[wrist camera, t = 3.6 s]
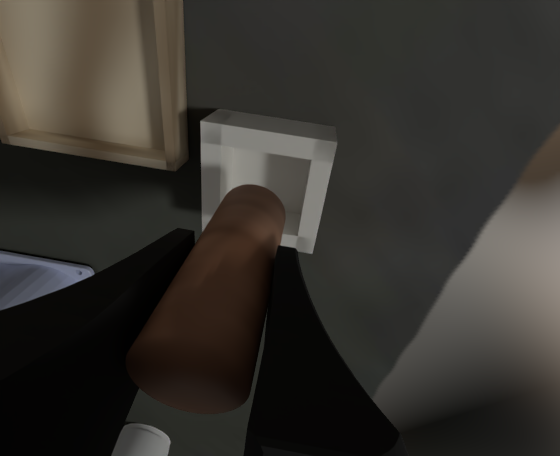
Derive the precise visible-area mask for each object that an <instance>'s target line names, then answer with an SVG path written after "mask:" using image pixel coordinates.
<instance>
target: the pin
mask: <svg viewBox="0 0 560 456" xmlns="http://www.w3.org/2000/svg"><path fill="white" fill-rule="evenodd" d="M285 219H286V214H285V209H284V206H283V204H282V202H281V200H280V199H279V198H278V197H277V195H276V194H274V193H273V192H272V191H270V190H269V189H267V188H265V187H262V186H259V185H254V184H245V185H240V186H237V187H235V188H233V189H232V190H230V191H229V192H228V193H227V194H226V195H225V197H224V199H223V200H222V202H221V203H220V205H219V207H218V208H217V210H216V211H215V213H214V215H213V216H212V218H211V219H210V221H209V223H208V224H207V226H206V228H205V229H204V231H203V232H202V234H201V236H200V237H199V239H198V240H197V242H196V244H195V245H194V247H193V248H192V250H191V252H190V253H189V255H188V256H187V258H186V260H185V261H184V263H183V264H182V266H181V268H180V269H179V271H178V272H177V274H176V276H175V277H174V279H173V281H172V282H171V284H170V285H169V287H168V289H167V290H166V292H165V293H164V295H163V297H162V298H161V300H160V301H159V303H158V305H157V306H156V308H155V309H154V311H153V313H152V314H151V316H150V317H149V319H148V321H147V322H146V324H145V325H144V327H143V329H142V330H141V332H140V333H139V335H138V337H137V338H136V340H135V342H134V343H133V345H132V346H131V348H130V350H129V351H128V353H127V355H126V361H125V363H126V369H127V372H128V374H129V376H130V377H131V379H132V380H133V382H134V383H135V384H136V385H137V386H138V387H139V388H140V389H141V390H142V391H144V392H145V393H146V394H148V395H149V396H151V397H152V398H154V399H155V400H157V401H159V402H161V403H163V404H166V405H168V406H170V407H173V408H176V409H179V410H183V411H187V412H193V413H200V414H218V413H224V412H228V411H231V410H234V409H236V408H238V407H240V406H241V405H242V404H244V403H245V401H246V400H247V399H248V397H249V395H250V391H251V386H252V381H253V376H254V372H255V367H256V362H257V357H258V352H259V347H260V342H261V337H262V332H263V327H264V323H265V318H266V313H267V308H268V303H269V298H270V293H271V284H272V276H273V269H274V262H275V255H276V251H277V248H278V245H280V244H281V239H282V234H283V229H284V225H285Z"/></svg>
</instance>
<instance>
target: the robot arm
mask: <svg viewBox="0 0 560 456" xmlns="http://www.w3.org/2000/svg"><path fill="white" fill-rule="evenodd" d="M194 245H195V236H194V231H192V230H186V229H180V228H177V229H175V230H173V231H171V232H170V233H168V234H166V235H165V236H163V237H161V238H160V239H158V240H156V241H155V242H153V243H151V244H150V245H148V246H146V247H145V248H143V249H141V250H139V251H138V252H136V253H134V254H133V255H131V256H129V257H127V258H125V259H123V260H121V261H120V262H118V263H116V264H114V265H112V266H110V267H108V268H106V269H104V270H102V271H100V272H98V273H96V274H94V271H93V269H92V268H90V267H89V266H84V265H79V264H73V263H67V262H62V261H56V260H50V259H45V258H39V257H33V256H28V255H22V254H16V253H11V252H5V251H0V456H111V455H112V453H113V450H114V447H115V445H116V442H117V440H118V437H119V435H120V432H121V430H122V427H123V425H124V422H125V420H126V418H127V415H128V413H129V411H130V408H131V406H132V403H133V401H134V399H135V396H136V394H137V392H138V389H139V387H138V386H137V385H136V384H135V383H134V382H133V380H132V379H131V377H130V376H129V374H128V372H127V369H126V363H125V361H126V355H127V353H128V351H129V350H130V348H131V346H132V345H133V343H134V342H135V340H136V338H137V337H138V335H139V333H140V332H141V330H142V329H143V327H144V325H145V324H146V322H147V321H148V319H149V317H150V316H151V314H152V313H153V311H154V309H155V308H156V306H157V305H158V303H159V301H160V300H161V298H162V297H163V295H164V293H165V292H166V290H167V289H168V287H169V285H170V284H171V282H172V281H173V279H174V277H175V276H176V274H177V272H178V271H179V269H180V268H181V266H182V264H183V263H184V261H185V260H186V258H187V256H188V255H189V253H190V252H191V250H192V248H193V247H194ZM244 456H408V453H407V450H406V447H405V444H404V441H403V439H402V436H401V434H400V433H399V432H398V430H397V429H396V428H395V427H394V426H393V424H391V422H390V421H389V420H388V419H387V417H386V416H385V415H384V414H383V413H382V412H381V410H380V409H379V408H378V407H377V406H376V404H375V403H374V402H373V400H372V399H371V398H370V397H369V395H368V394H367V393H366V391H365V390H364V389H363V387H362V386H361V385H360V383H359V382H358V381H357V379H356V378H355V376H354V375H353V373H352V372H351V370H350V369H349V367H348V366H347V364H346V363H345V361H344V360H343V358H342V357H341V356H340V354H339V353H338V351H337V349H336V348H335V346H334V344H333V342H332V341H331V339H330V337H329V336H328V334H327V332H326V330H325V328H324V326H323V324H322V322H321V320H320V318H319V316H318V314H317V312H316V310H315V307H314V305H313V303H312V300H311V298H310V295H309V293H308V290H307V287H306V284H305V281H304V278H303V275H302V272H301V268H300V264H299V258H298V251H297V249H296V248H293V247H287V246H281V245H278V248H277V251H276V255H275V262H274V269H273V276H272V284H271V293H270V298H269V304H268V311H267V320H266V331H265V342H264V350H263V355H262V360H261V365H260V370H259V375H258V380H257V384H256V389H255V394H254V399H253V403H252V408H251V413H250V418H249V422H248V427H247V434H246V442H245V450H244Z"/></svg>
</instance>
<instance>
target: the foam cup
mask: <svg viewBox="0 0 560 456" xmlns="http://www.w3.org/2000/svg"><path fill="white" fill-rule="evenodd" d="M170 443H171V442H170V439H169V437H168V436H167V435H166V434H165V433H164V432H162V431H161V430H159V429H156V428H154V427H152V426H149V425H145V424H139V423H130V424H128V425H125V426H124V427H123V429H122V431H121V432H120V435H119V437H118V440H117V442H116V445H115V447H114V450H113V453H112V455H111V456H167V455H168V451H169V446H170Z"/></svg>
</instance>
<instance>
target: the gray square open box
mask: <svg viewBox="0 0 560 456" xmlns="http://www.w3.org/2000/svg"><path fill="white" fill-rule="evenodd" d="M200 128H201V189H202V232H203V231H204V229H205V228H206V226H207V224H208V223H209V221H210V219H211V218H212V216H213V215H214V213H215V211H216V210H217V208H218V207H219V205H220V203H221V202H222V200H223V199H224V197H225V195H226V194H227V193H228V192H229V191H230V190H232V189H233V188H235V187H237V186H240V185H245V184H254V185H259V186H262V187H265V188H267V189H269V190H270V191H272V192H273V193H274V194H276V195H277V197H278V198H279V199H280V200H281V202H282V204H283V206H284V209H285V214H286V219H285V225H284V229H283V234H282V239H281V244H280V245H281V246H287V247H293V248H296V249H297V251H299V252H305V253H311V254H312V253H313V249H314V244H315V240H316V235H317V231H318V227H319V222H320V218H321V213H322V209H323V204H324V200H325V195H326V191H327V186H328V182H329V177H330V173H331V169H332V164H333V160H334V155H335V151H336V146H337V137H336V129H335V127H334V126H327V125H321V124H315V123H308V122H302V121H295V120H289V119H282V118H276V117H269V116H263V115H257V114H250V113H244V112H237V111H231V110H224V109H218V110H216V111H215V112H213V113H212V114H210V115H209V116H207V117H206V118H204V119H203V120H201V121H200Z"/></svg>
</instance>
